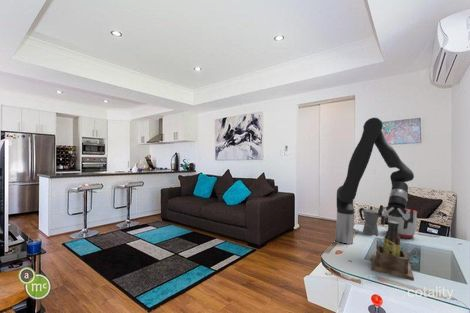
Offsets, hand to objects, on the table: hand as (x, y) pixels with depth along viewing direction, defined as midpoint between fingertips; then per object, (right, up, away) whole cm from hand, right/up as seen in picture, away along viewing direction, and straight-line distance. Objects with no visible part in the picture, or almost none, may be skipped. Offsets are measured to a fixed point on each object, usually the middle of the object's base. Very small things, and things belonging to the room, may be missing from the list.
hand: (393, 226), depth 110 cm
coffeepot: (+15, -18, +45) cm, 51 cm away
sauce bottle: (-4, -17, -4) cm, 18 cm away
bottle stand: (-4, -18, -4) cm, 19 cm away
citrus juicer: (+34, -19, +42) cm, 58 cm away
